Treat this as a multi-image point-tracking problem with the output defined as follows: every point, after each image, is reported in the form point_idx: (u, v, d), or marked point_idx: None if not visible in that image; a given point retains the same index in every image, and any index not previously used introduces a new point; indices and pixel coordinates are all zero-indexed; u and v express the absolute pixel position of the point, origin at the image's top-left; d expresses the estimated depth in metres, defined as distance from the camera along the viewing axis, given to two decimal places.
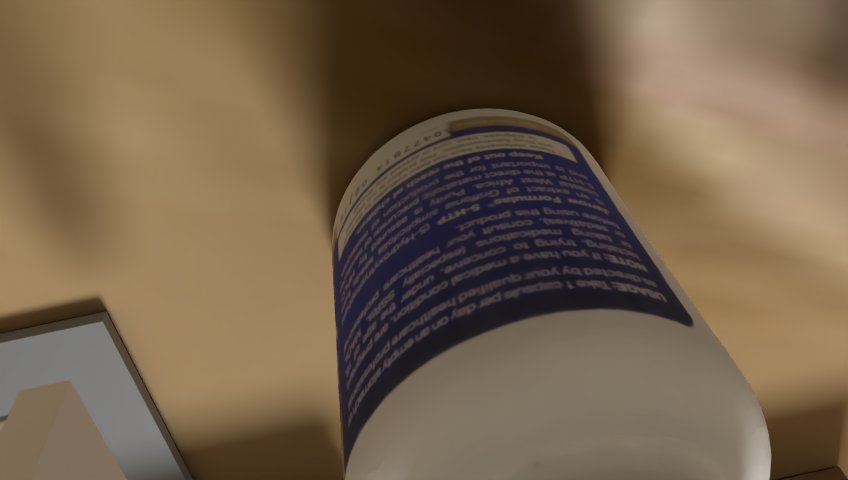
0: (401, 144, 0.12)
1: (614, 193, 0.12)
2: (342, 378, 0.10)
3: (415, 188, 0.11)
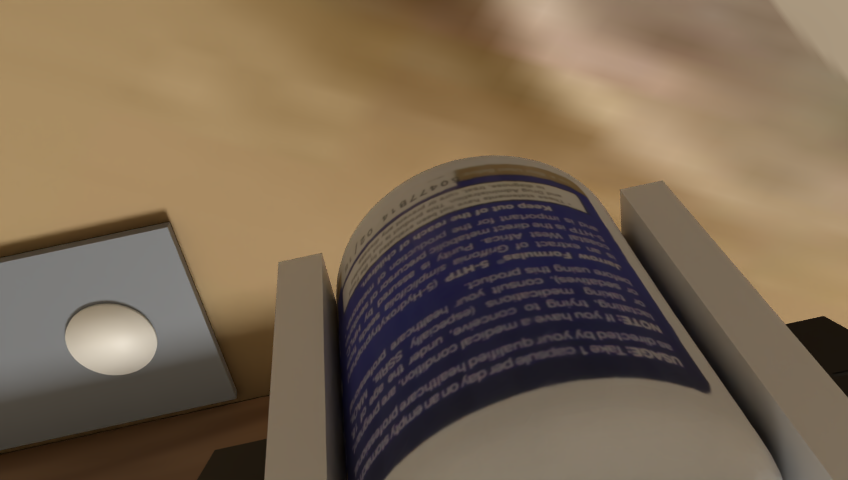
0: (407, 193, 0.12)
1: (624, 244, 0.11)
2: (348, 439, 0.10)
3: (421, 241, 0.11)
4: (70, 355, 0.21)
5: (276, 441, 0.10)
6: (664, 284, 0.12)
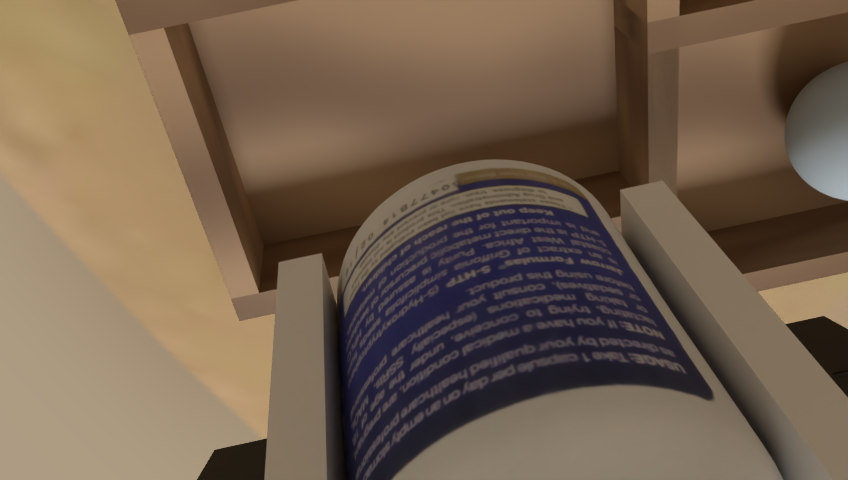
0: (408, 197, 0.12)
1: (626, 248, 0.11)
2: (349, 445, 0.10)
3: (423, 245, 0.11)
4: None
5: (276, 441, 0.10)
6: (665, 284, 0.12)
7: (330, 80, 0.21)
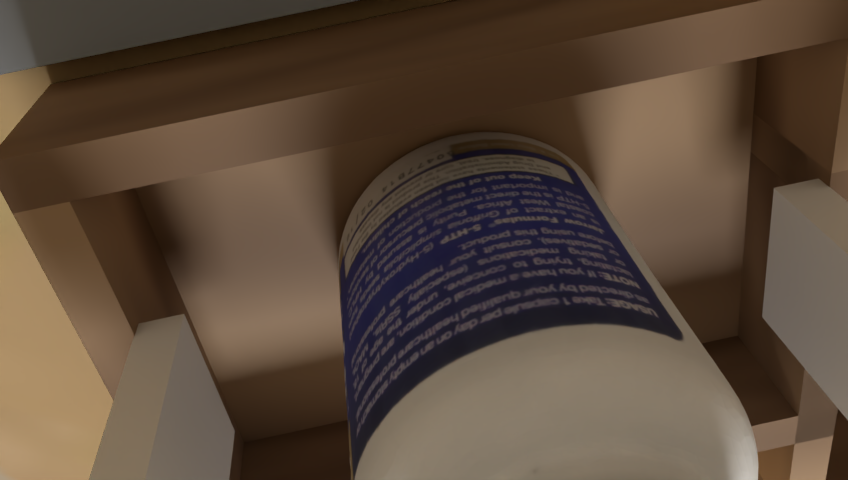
0: (406, 166, 0.13)
1: (609, 213, 0.12)
2: (350, 390, 0.11)
3: (419, 208, 0.12)
4: None
5: None
6: (841, 289, 0.11)
7: (337, 234, 0.14)
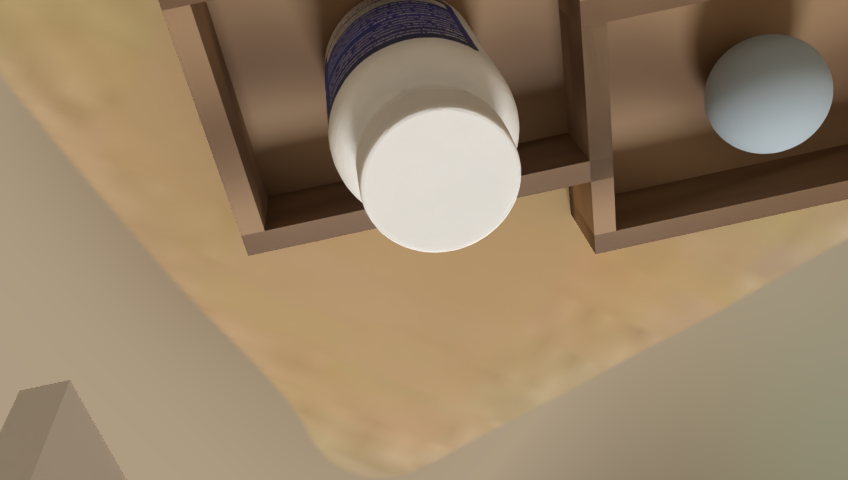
0: (360, 5, 0.24)
1: (466, 25, 0.23)
2: (328, 98, 0.22)
3: (364, 17, 0.23)
4: None
5: None
6: None
7: (323, 53, 0.25)
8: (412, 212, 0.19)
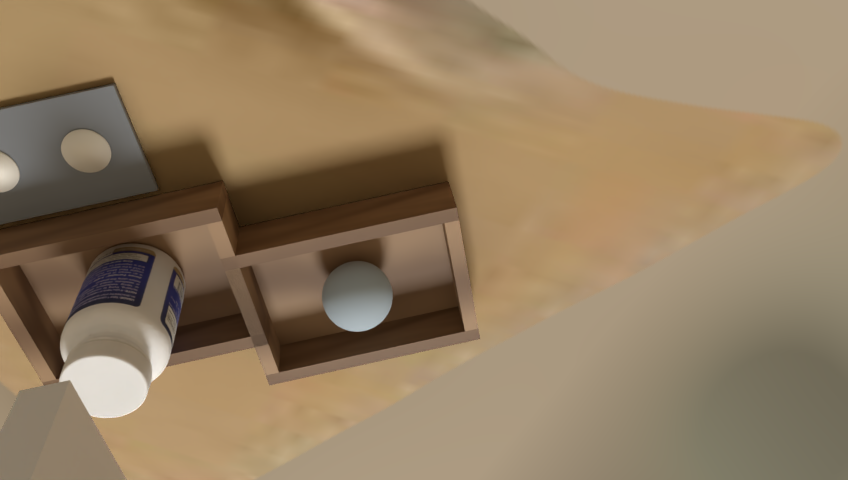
0: (101, 255, 0.41)
1: (157, 270, 0.41)
2: None
3: (95, 270, 0.40)
4: (63, 160, 0.39)
5: None
6: None
7: None
8: (91, 400, 0.36)
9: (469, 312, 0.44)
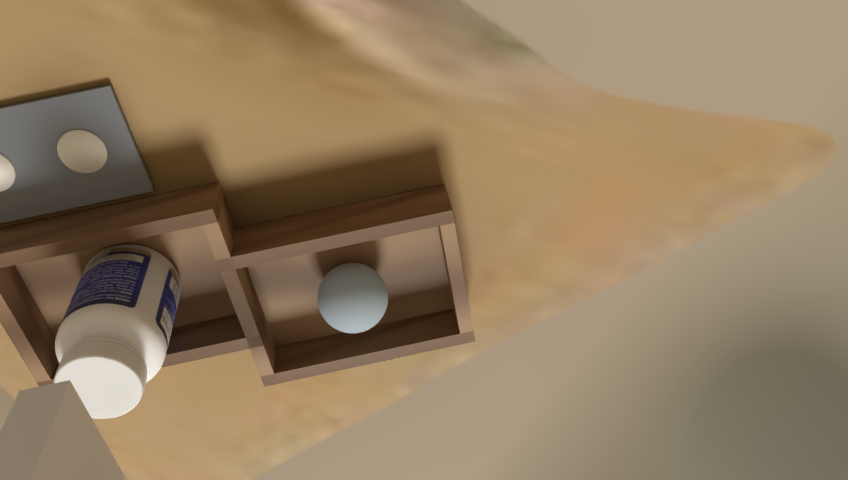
0: (96, 256, 0.41)
1: (153, 271, 0.41)
2: None
3: (91, 271, 0.40)
4: (59, 160, 0.39)
5: None
6: None
7: None
8: (85, 401, 0.36)
9: (464, 314, 0.44)
